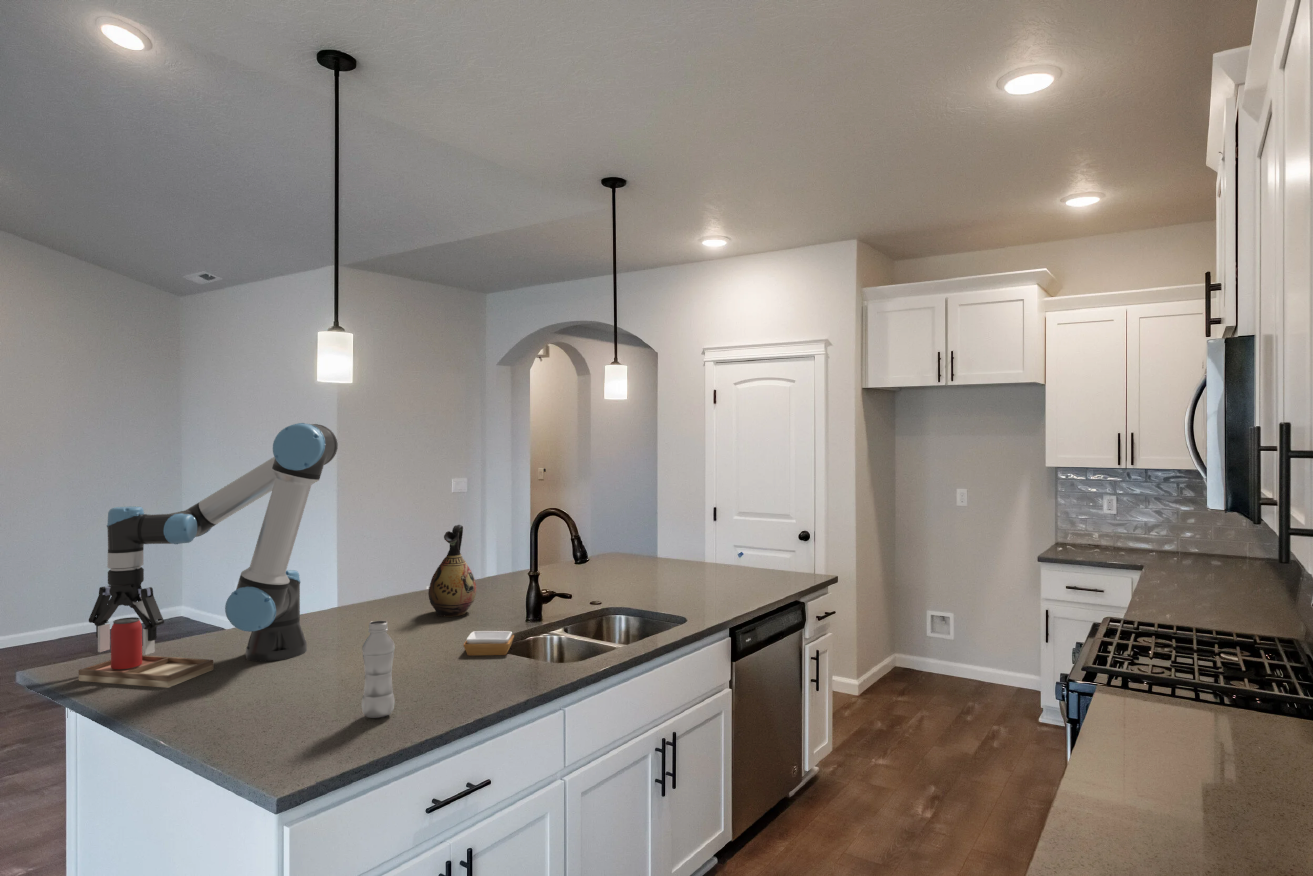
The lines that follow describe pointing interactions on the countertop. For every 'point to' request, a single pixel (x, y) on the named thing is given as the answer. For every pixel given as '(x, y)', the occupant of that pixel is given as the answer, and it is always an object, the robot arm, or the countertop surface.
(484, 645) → the soap dish
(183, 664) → the caddy tray
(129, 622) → the beer can
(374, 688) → the plastic bottle
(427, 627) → the countertop surface
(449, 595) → the ceramic jug
